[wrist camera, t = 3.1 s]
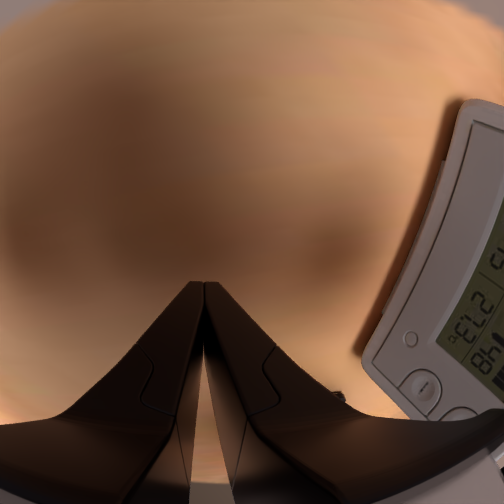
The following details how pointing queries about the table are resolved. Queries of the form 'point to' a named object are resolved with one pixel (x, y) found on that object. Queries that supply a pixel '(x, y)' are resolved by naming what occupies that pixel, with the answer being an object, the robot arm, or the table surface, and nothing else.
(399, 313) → the digital clock
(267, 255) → the table surface
